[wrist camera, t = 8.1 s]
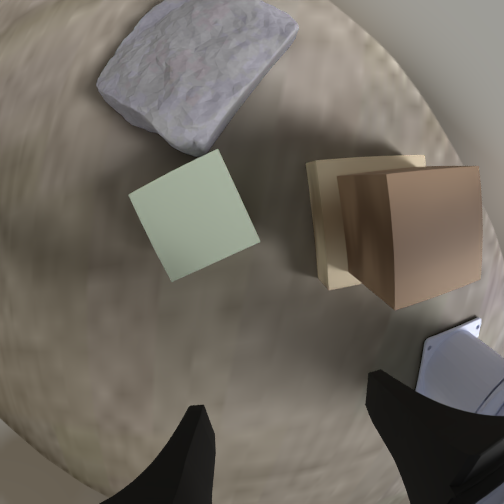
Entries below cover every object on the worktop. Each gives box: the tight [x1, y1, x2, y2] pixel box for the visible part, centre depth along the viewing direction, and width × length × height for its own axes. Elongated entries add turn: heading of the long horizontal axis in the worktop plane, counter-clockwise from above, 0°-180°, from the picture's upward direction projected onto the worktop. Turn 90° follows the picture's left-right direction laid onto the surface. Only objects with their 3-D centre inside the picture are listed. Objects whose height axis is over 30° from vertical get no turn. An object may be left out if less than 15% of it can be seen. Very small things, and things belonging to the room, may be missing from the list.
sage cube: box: [129, 149, 260, 282], centre depth 16 cm, size 5×5×5 cm
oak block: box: [305, 155, 426, 290], centre depth 18 cm, size 8×8×3 cm
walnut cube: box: [337, 166, 483, 310], centre depth 14 cm, size 6×6×6 cm
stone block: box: [96, 0, 299, 157], centre depth 15 cm, size 12×5×10 cm
